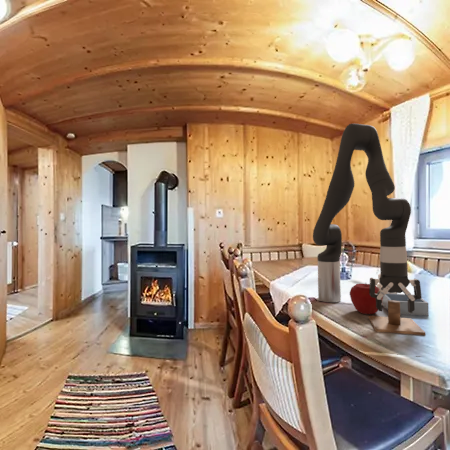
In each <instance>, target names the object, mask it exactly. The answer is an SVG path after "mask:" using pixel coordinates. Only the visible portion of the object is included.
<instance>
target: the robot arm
mask: <svg viewBox="0 0 450 450" xmlns="http://www.w3.org/2000/svg"><path fill="white" fill-rule="evenodd" d="M339 143H340V144H339V149H338V153H337V157H336V158H337V159H336V162H335V165H334V170H333V172H332V175H331V176H332V177H331V179H330V181H329V184H328V185H329V186H328V188H327V192H326V195H325V199H324V202H323V204H322V209H321V211H320V213H319V216H318V219H317V221H316V223H315V225H314V227H313V232H312V240H313V243H314V244H315V245H317V246H320V247H321V246H326V248H325V249H324V250H323V251H321V252H320V253H318V254H317V290H318V292H317V293H318V295H317V297H318V299H317V300H318V301H319V302H324V303H339V302H341V301H342V299H341V298H342V295H341V294H342V293H341V292H342V291H341V289H342V288H341V261H340V260H341V255H342V239H343V237H342V235H343V233H342V230H341V228H340V226H339V225H337V224H333V223H332V222H333V220H334V219H335V217H336V216H337V215H338V214H339V213H340V212H341V211H342V210H343V209H344V208H345V207H346V205H347V204H348V203H349V202H350V200H351V197H352V195H353V191H354V188H355V177H354V174H353V170H352V166H351V164H352V156H353V153H354V151H363V152H364V153H365V156H367V165H366V169H365V179H366V180H365V181H366V183H367V185H368V187H369V190H370V193H371V201H372V202H371V203H372V204H371V205H372V212H373V214H374V216H375V217H376V218H377V219H378V220H381V221H391V223H390V226H388V227H384V228H382V229H381V230H380V232H379V239H380V240H379V243H380V245H379V246H380V247H379V248H380V249H379V250H380V251H379V269H380V271H379V272H380V273H381V276H380V279H378V278H374V277H370V278H369V284H370V287H369V295H370V296H371V297H373V298H376V308H377V309H378V312H383V303H382V300H381V298H382V297H383V296H384V295H385V294H386V293H387V292H390V293H394V292H396V293H397V294H405V295H406V296H407V297H408V299H409V300H408V312H409V313H412V312H413V311H414V310H415V306H414V301H415V300H417V299H421V298H422V288H421V281H420V280H419V279H417V278H413V279H409V276H408V275H409V274H408V273H409V272H408V253H407V245H406V243H407V242H406V239H407V238H406V233H407V229H408V226H409V225H408V224H409V223H410V217H411V213H412V209H411V208H412V207H411V205H410V202H409V201H408V200H407V199H406V198H403V197H393V198H392V197H390V198H389V196H390V195H392V194H393V193H394V192H395V188H396V186H395V184H394V182H393V179H392V177H391V174H390V172H389V171H388V167H387V165H386V162H385V158H384V155H383V150H382V145H381V141H380V138H379V133H378V131H377V128H375V126H373V125H370V124H364V123H363V124H361V123H360V124H359V123H349V124H348V125H347V126H346V127H345V128H344V130H343V132H342V135H341V139H340V141H339ZM380 273H379V274H380ZM379 282H380V284H381V285H382V287H381V288H380V290H379V292H378V293H377V294H375V286H377V284H378V283H379ZM409 285H410V286H412V287H413V293H414V294H412V293H411V292H410V291H409V290H408V289H407V288H408V286H409ZM422 299H423V298H422Z"/></svg>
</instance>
